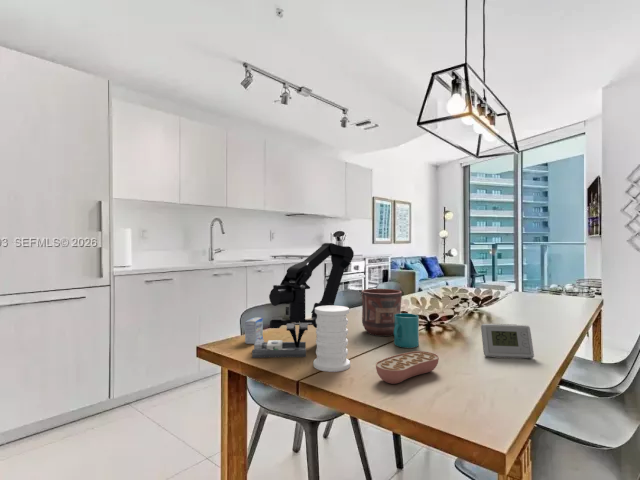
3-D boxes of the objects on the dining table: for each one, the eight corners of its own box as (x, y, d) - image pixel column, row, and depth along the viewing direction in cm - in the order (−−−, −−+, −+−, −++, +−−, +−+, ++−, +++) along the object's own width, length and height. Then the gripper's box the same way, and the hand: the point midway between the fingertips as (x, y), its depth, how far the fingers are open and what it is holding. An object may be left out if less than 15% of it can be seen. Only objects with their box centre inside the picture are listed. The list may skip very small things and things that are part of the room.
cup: (384, 346, 139) (384, 316, 139) (403, 340, 147) (403, 312, 147) (405, 351, 133) (405, 320, 133) (423, 345, 141) (423, 315, 141)
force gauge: (282, 346, 134) (282, 339, 134) (281, 353, 125) (281, 346, 126) (264, 346, 134) (264, 339, 134) (261, 353, 125) (261, 346, 125)
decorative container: (314, 359, 123) (314, 305, 124) (349, 359, 123) (349, 305, 123) (312, 371, 112) (312, 311, 112) (351, 372, 111) (351, 311, 112)
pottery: (411, 334, 158) (411, 291, 158) (381, 339, 148) (380, 294, 149) (382, 326, 173) (382, 287, 173) (352, 331, 163) (352, 290, 163)
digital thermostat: (482, 357, 126) (482, 326, 126) (480, 350, 135) (480, 320, 135) (536, 362, 121) (536, 329, 121) (530, 354, 129) (530, 324, 129)
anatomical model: (394, 392, 97) (394, 372, 97) (366, 380, 105) (366, 363, 105) (444, 373, 111) (444, 356, 111) (417, 364, 119) (417, 348, 119)
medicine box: (255, 344, 142) (255, 321, 142) (244, 343, 143) (244, 321, 143) (263, 339, 149) (263, 317, 149) (252, 338, 150) (252, 317, 150)
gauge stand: (305, 348, 136) (305, 337, 136) (305, 356, 126) (306, 345, 126) (255, 349, 135) (255, 338, 135) (252, 357, 125) (252, 345, 125)
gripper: (322, 298, 140) (322, 340, 139) (272, 299, 139) (272, 341, 138) (324, 303, 128) (324, 349, 128) (269, 304, 127) (269, 349, 127)
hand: (297, 347), depth 131 cm, fingers closed
